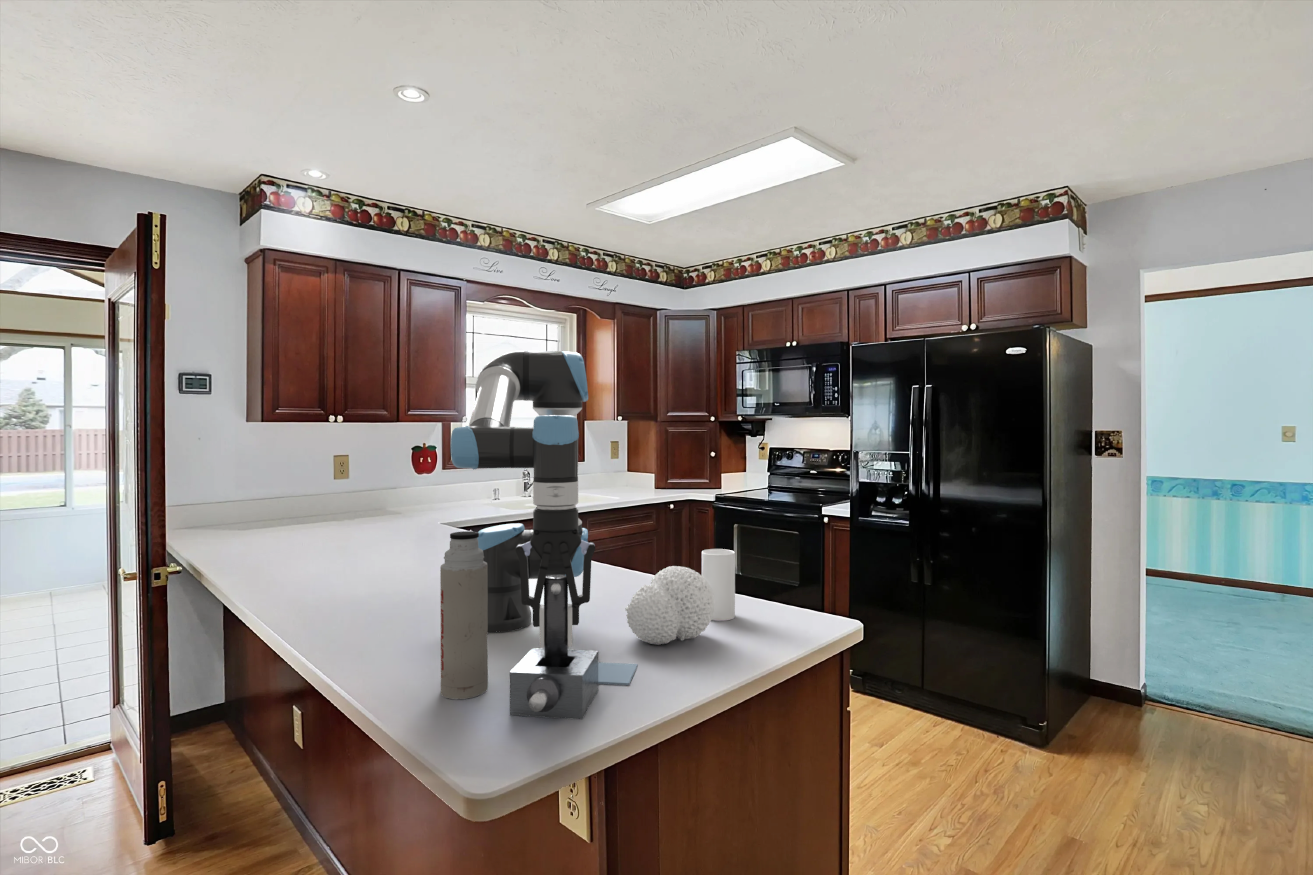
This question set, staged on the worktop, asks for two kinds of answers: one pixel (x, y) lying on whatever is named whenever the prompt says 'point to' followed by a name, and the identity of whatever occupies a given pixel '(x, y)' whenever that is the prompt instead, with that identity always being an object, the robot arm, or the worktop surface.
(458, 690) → the thermos bottle
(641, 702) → the worktop surface
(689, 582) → the white coral
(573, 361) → the robot arm
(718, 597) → the cup
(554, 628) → the key
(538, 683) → the block
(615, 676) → the mat
